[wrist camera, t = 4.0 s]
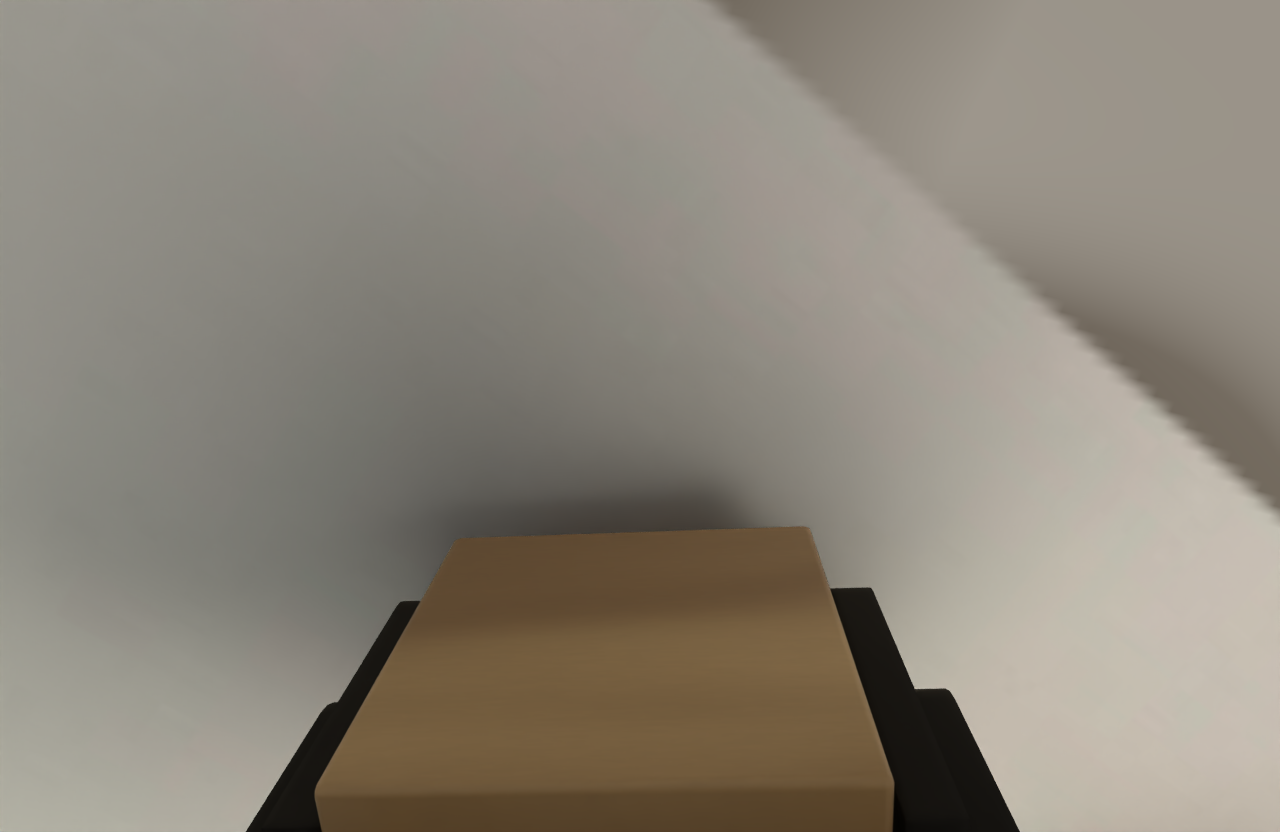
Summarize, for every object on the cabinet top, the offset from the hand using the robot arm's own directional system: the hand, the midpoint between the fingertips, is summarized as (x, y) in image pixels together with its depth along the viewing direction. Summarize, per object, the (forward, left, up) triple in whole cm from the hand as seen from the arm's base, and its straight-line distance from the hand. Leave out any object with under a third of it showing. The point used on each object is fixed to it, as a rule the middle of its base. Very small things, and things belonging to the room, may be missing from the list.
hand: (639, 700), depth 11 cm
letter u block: (0, 0, 0) cm, 0 cm away
